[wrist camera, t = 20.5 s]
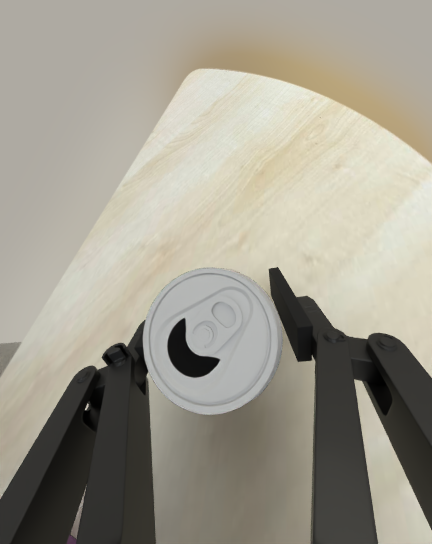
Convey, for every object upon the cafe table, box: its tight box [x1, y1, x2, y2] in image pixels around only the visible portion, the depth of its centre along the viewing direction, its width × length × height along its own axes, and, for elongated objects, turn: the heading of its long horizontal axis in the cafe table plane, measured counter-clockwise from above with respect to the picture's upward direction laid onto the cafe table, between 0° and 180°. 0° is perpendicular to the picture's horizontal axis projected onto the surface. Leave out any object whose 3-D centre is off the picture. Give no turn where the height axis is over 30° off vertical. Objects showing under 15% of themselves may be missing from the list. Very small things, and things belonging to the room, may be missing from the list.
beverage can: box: [143, 268, 283, 415], centre depth 13 cm, size 6×6×12 cm
